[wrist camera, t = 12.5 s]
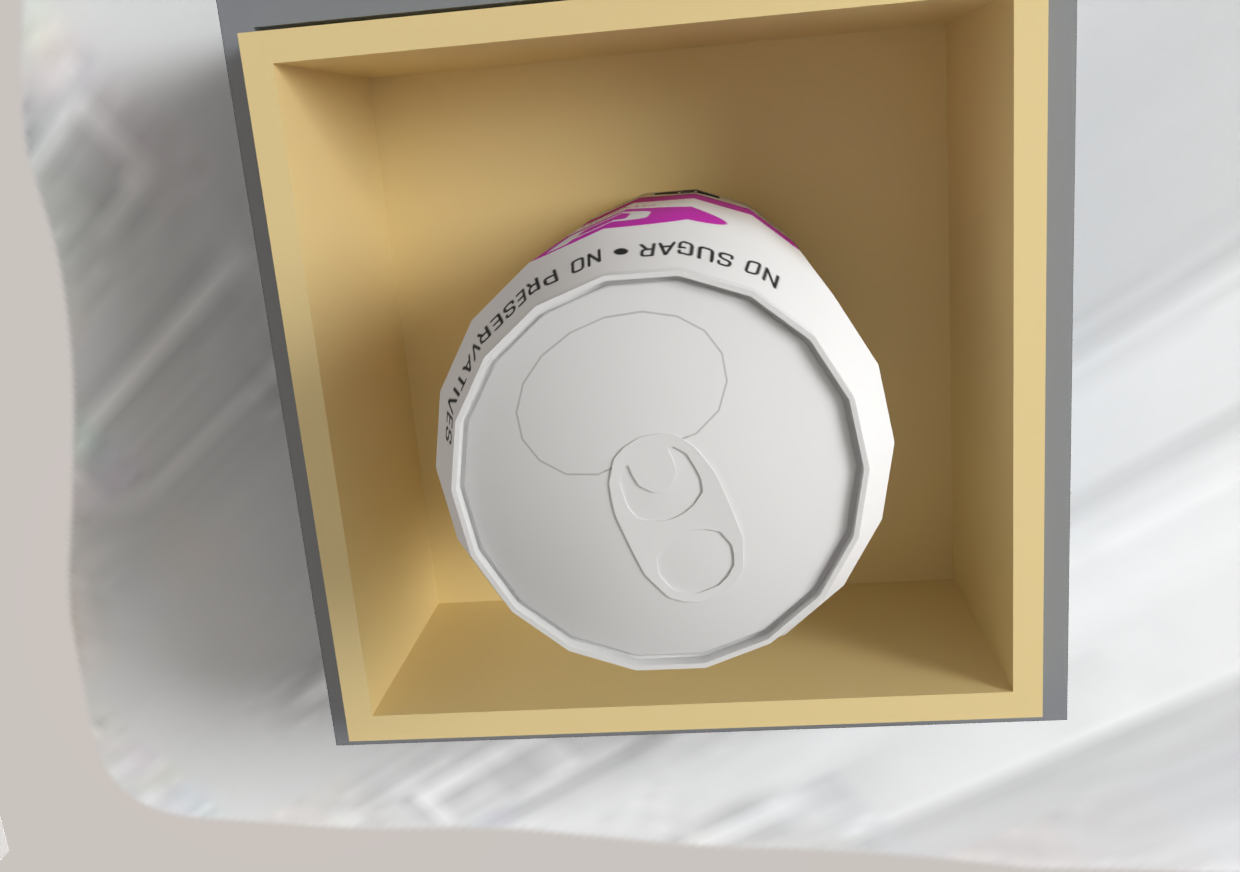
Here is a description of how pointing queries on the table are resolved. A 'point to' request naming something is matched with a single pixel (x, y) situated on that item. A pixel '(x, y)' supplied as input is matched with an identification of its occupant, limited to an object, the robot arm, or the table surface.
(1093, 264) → the table surface
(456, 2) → the outer crate
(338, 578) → the inner crate
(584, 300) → the supplement can
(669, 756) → the table surface
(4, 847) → the robot arm
